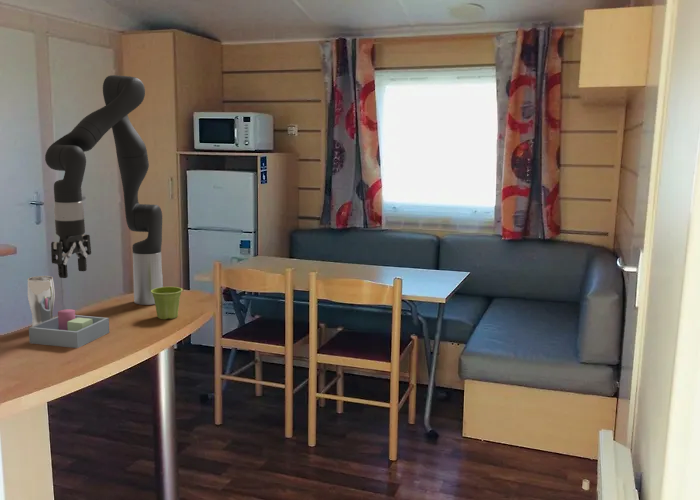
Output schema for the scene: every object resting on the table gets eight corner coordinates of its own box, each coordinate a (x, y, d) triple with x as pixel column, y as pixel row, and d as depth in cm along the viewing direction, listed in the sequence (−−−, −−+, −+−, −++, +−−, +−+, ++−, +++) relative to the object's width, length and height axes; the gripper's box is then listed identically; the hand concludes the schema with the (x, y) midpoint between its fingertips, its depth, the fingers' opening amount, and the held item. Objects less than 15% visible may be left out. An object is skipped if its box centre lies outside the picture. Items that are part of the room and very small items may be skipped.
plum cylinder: (65, 329, 185) (64, 308, 184) (79, 330, 184) (78, 309, 183) (55, 333, 181) (54, 312, 180) (69, 334, 180) (68, 313, 179)
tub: (64, 328, 188) (63, 313, 188) (109, 332, 185) (108, 317, 185) (29, 343, 174) (28, 327, 174) (77, 348, 171) (77, 332, 171)
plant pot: (171, 322, 197) (170, 294, 195) (145, 318, 200) (144, 291, 199) (189, 315, 205) (188, 288, 204) (164, 311, 209) (163, 285, 207)
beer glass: (30, 326, 189) (27, 276, 187) (56, 324, 192) (54, 275, 189) (29, 333, 183) (26, 281, 180) (56, 331, 186) (53, 279, 183)
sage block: (93, 334, 180) (92, 318, 180) (82, 339, 176) (82, 323, 175) (78, 333, 181) (77, 317, 181) (68, 338, 177) (67, 321, 176)
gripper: (64, 222, 172) (68, 281, 176) (96, 214, 186) (100, 269, 189) (40, 220, 174) (44, 279, 177) (73, 213, 188) (77, 267, 191)
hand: (73, 274), depth 183 cm, fingers open, 8 cm apart
